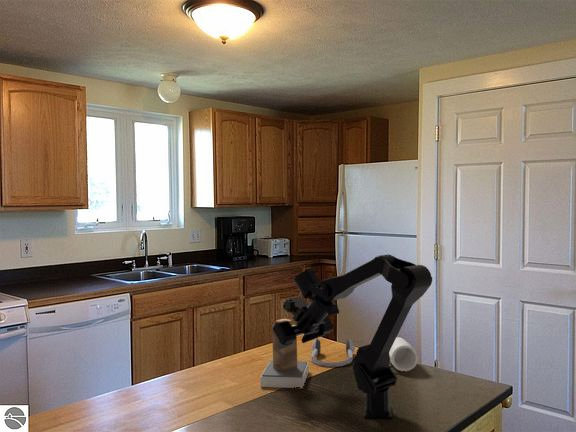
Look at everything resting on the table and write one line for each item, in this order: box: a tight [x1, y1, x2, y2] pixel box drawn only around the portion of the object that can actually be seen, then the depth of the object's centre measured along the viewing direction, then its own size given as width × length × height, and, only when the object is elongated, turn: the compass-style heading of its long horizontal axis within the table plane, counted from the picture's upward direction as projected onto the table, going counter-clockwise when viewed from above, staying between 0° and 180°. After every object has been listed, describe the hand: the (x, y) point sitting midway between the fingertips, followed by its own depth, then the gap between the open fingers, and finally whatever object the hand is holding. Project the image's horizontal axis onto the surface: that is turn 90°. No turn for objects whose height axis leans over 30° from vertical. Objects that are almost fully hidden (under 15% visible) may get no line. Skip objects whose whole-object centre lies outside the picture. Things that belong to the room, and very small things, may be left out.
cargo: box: [275, 318, 293, 326], centre depth 147 cm, size 3×3×2 cm
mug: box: [389, 336, 419, 372], centre depth 156 cm, size 12×10×8 cm
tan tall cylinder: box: [271, 323, 298, 372], centre depth 147 cm, size 5×5×12 cm
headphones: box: [311, 338, 364, 368], centre depth 167 cm, size 17×6×20 cm
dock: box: [259, 360, 310, 389], centre depth 147 cm, size 14×12×3 cm
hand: (290, 344), depth 145 cm, fingers open, 9 cm apart
